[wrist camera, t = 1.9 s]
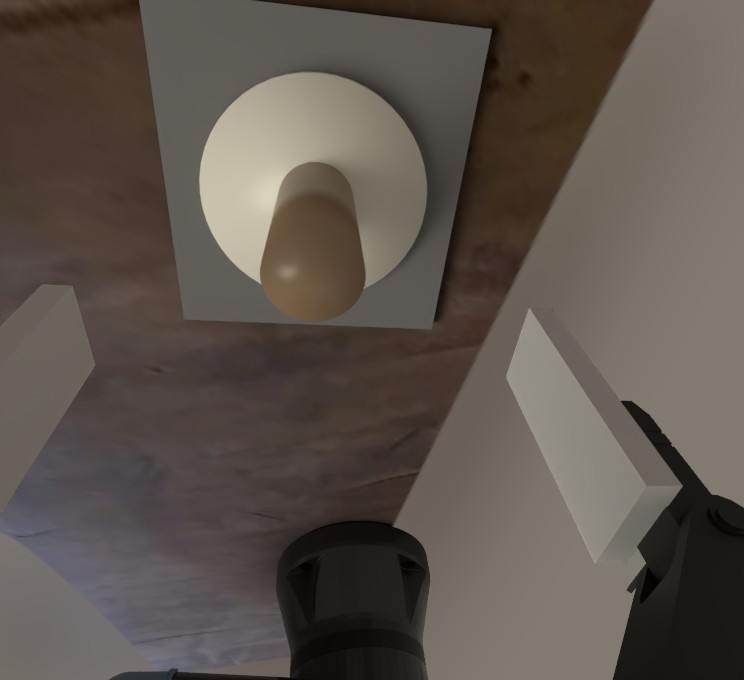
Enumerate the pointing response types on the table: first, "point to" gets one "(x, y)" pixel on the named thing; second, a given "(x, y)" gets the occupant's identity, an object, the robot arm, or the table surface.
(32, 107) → the table surface
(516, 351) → the robot arm
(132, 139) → the table surface
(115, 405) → the table surface
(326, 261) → the lid
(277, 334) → the table surface
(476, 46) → the mat
